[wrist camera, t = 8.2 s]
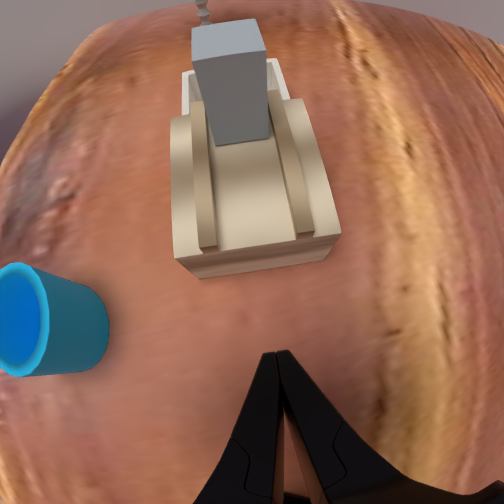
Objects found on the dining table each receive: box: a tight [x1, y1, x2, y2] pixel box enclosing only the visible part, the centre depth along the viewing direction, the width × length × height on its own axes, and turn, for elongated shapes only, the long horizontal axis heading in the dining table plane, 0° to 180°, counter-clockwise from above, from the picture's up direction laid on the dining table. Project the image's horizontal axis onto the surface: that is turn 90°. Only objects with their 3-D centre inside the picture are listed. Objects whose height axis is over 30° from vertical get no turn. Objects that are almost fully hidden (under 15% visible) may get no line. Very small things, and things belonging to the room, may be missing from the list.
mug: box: [0, 262, 109, 377], centre depth 19 cm, size 12×8×8 cm
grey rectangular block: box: [192, 19, 269, 146], centre depth 16 cm, size 4×4×8 cm
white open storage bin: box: [182, 58, 290, 115], centre depth 26 cm, size 8×9×4 cm
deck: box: [170, 89, 341, 279], centre depth 22 cm, size 11×10×8 cm
